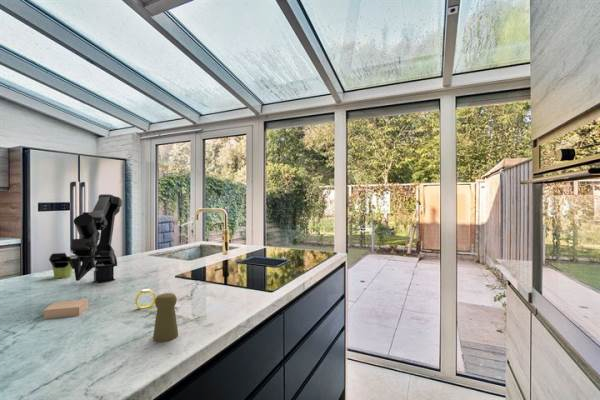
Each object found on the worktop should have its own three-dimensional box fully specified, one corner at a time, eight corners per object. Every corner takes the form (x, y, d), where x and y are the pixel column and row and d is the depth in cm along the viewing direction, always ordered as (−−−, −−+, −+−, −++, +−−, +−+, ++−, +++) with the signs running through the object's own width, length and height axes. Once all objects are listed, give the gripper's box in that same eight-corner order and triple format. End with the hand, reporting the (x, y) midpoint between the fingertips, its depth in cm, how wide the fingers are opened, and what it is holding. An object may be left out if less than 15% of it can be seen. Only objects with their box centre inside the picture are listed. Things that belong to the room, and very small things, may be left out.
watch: (153, 305, 104) (155, 287, 104) (155, 307, 102) (157, 289, 102) (134, 308, 100) (135, 289, 101) (135, 310, 98) (137, 291, 98)
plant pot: (80, 275, 144) (80, 256, 144) (59, 280, 135) (59, 260, 135) (66, 273, 147) (66, 255, 147) (44, 278, 138) (44, 259, 138)
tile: (55, 301, 99) (43, 310, 91) (88, 298, 102) (79, 306, 94) (55, 310, 99) (43, 320, 91) (88, 307, 102) (79, 316, 94)
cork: (158, 331, 83) (158, 291, 83) (181, 331, 83) (181, 290, 83) (149, 342, 77) (149, 298, 77) (173, 341, 77) (174, 297, 77)
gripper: (51, 230, 106) (35, 269, 96) (112, 228, 112) (103, 265, 102) (61, 249, 114) (47, 287, 104) (118, 246, 120) (110, 282, 110)
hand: (77, 280), depth 105 cm, fingers closed
